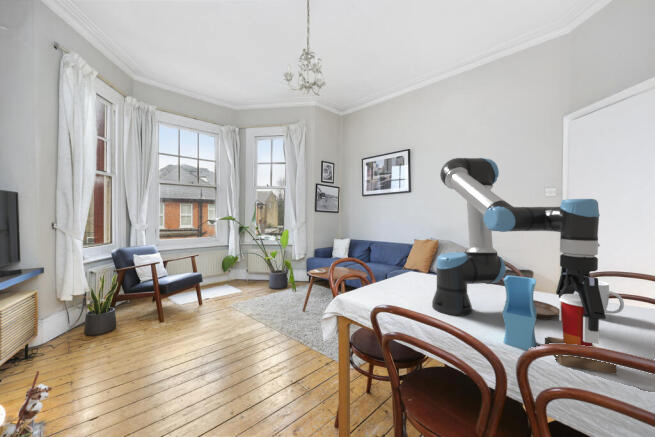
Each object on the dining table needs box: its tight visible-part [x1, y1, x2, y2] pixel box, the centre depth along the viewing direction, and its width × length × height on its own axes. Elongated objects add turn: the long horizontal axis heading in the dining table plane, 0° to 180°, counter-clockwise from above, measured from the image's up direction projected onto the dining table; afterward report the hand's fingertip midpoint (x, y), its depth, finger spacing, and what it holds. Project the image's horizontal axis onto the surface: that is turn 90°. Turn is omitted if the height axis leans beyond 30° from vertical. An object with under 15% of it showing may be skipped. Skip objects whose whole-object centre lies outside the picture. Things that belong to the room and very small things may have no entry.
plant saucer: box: [505, 299, 560, 320], centre depth 106 cm, size 18×18×3 cm
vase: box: [502, 274, 537, 351], centre depth 81 cm, size 8×8×20 cm
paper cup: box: [558, 294, 593, 346], centre depth 72 cm, size 8×8×14 cm
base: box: [544, 336, 617, 375], centre depth 72 cm, size 11×11×3 cm
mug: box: [574, 280, 625, 315], centre depth 102 cm, size 15×11×13 cm
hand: (577, 331), depth 72 cm, fingers open, 13 cm apart
